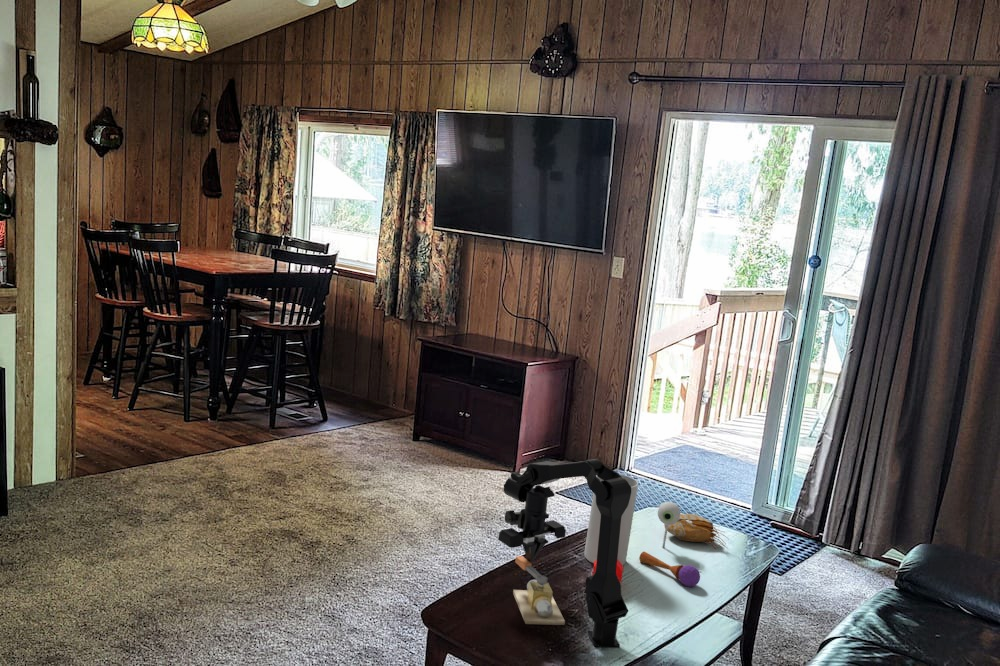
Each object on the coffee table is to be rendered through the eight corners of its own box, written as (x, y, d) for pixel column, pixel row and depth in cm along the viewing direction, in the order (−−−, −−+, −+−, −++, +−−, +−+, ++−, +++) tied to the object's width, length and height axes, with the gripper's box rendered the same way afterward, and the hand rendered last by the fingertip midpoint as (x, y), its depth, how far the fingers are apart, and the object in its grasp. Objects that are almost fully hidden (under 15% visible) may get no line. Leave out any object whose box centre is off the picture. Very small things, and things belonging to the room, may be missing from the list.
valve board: (564, 624, 214) (564, 621, 214) (525, 623, 212) (526, 620, 212) (549, 594, 230) (549, 591, 230) (513, 593, 228) (513, 589, 228)
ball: (620, 582, 244) (624, 556, 242) (619, 594, 236) (623, 568, 235) (592, 576, 245) (596, 551, 244) (590, 588, 237) (594, 562, 236)
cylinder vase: (625, 571, 251) (638, 490, 247) (582, 563, 252) (594, 482, 249) (625, 555, 263) (638, 477, 259) (585, 547, 265) (596, 470, 261)
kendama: (651, 547, 262) (706, 568, 247) (646, 566, 262) (701, 589, 247) (638, 547, 258) (694, 569, 243) (634, 566, 258) (689, 590, 243)
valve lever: (548, 584, 220) (549, 578, 219) (539, 585, 218) (540, 579, 218) (522, 561, 232) (523, 555, 231) (514, 562, 230) (515, 556, 230)
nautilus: (735, 550, 280) (712, 562, 269) (678, 523, 294) (654, 534, 283) (740, 527, 278) (717, 539, 267) (683, 502, 292) (659, 512, 281)
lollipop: (650, 548, 270) (658, 503, 268) (653, 540, 277) (660, 496, 275) (673, 554, 269) (681, 508, 266) (675, 546, 275) (683, 501, 273)
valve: (554, 620, 215) (557, 596, 214) (534, 620, 214) (538, 595, 213) (541, 594, 228) (544, 571, 227) (523, 593, 227) (526, 570, 226)
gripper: (544, 493, 239) (537, 546, 241) (489, 502, 228) (483, 557, 230) (570, 507, 230) (563, 562, 232) (514, 517, 219) (507, 574, 221)
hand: (529, 563), depth 229 cm, fingers closed
